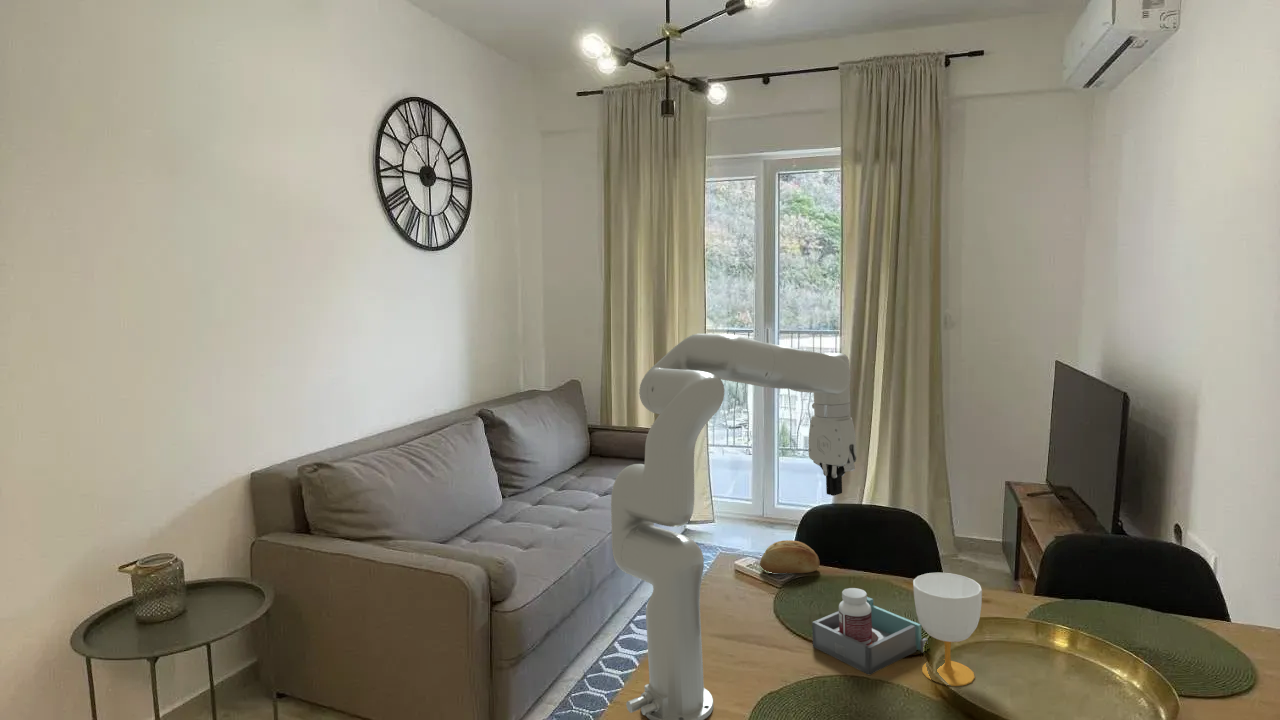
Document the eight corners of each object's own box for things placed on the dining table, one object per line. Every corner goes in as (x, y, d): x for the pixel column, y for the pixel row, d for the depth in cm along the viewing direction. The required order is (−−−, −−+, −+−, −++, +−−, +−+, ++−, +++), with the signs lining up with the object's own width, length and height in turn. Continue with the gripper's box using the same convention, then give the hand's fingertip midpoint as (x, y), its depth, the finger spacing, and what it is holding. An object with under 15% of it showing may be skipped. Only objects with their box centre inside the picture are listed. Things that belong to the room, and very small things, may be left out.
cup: (941, 696, 130) (940, 603, 128) (901, 664, 141) (899, 578, 139) (997, 683, 133) (997, 592, 131) (953, 652, 144) (952, 568, 142)
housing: (874, 677, 137) (873, 651, 136) (809, 644, 150) (808, 620, 150) (930, 648, 146) (930, 623, 146) (864, 620, 160) (864, 597, 159)
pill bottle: (879, 647, 145) (877, 593, 144) (858, 657, 142) (856, 602, 141) (854, 635, 151) (852, 583, 149) (833, 645, 147) (831, 592, 146)
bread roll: (823, 579, 182) (823, 547, 182) (762, 581, 183) (761, 549, 182) (816, 564, 192) (815, 534, 191) (758, 566, 193) (757, 536, 192)
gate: (918, 650, 146) (917, 620, 145) (861, 625, 157) (860, 597, 157) (922, 648, 146) (921, 618, 146) (865, 623, 158) (864, 595, 157)
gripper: (794, 409, 163) (796, 490, 165) (847, 417, 151) (849, 505, 153) (818, 404, 167) (820, 483, 169) (871, 412, 155) (873, 497, 157)
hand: (834, 493), depth 161 cm, fingers closed
